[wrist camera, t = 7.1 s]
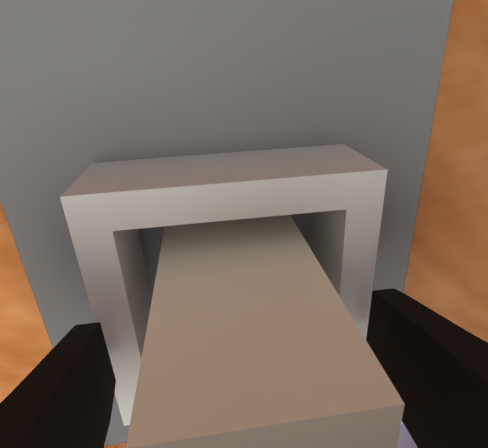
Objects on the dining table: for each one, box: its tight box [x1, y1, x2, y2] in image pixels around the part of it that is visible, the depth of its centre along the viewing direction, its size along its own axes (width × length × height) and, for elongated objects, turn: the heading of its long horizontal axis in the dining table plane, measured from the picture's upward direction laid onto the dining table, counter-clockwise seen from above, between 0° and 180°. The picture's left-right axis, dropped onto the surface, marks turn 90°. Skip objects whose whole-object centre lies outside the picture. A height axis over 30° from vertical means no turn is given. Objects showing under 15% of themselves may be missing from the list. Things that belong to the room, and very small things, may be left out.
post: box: [126, 215, 405, 448], centre depth 10 cm, size 4×4×8 cm
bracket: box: [0, 0, 453, 446], centre depth 12 cm, size 14×18×4 cm
